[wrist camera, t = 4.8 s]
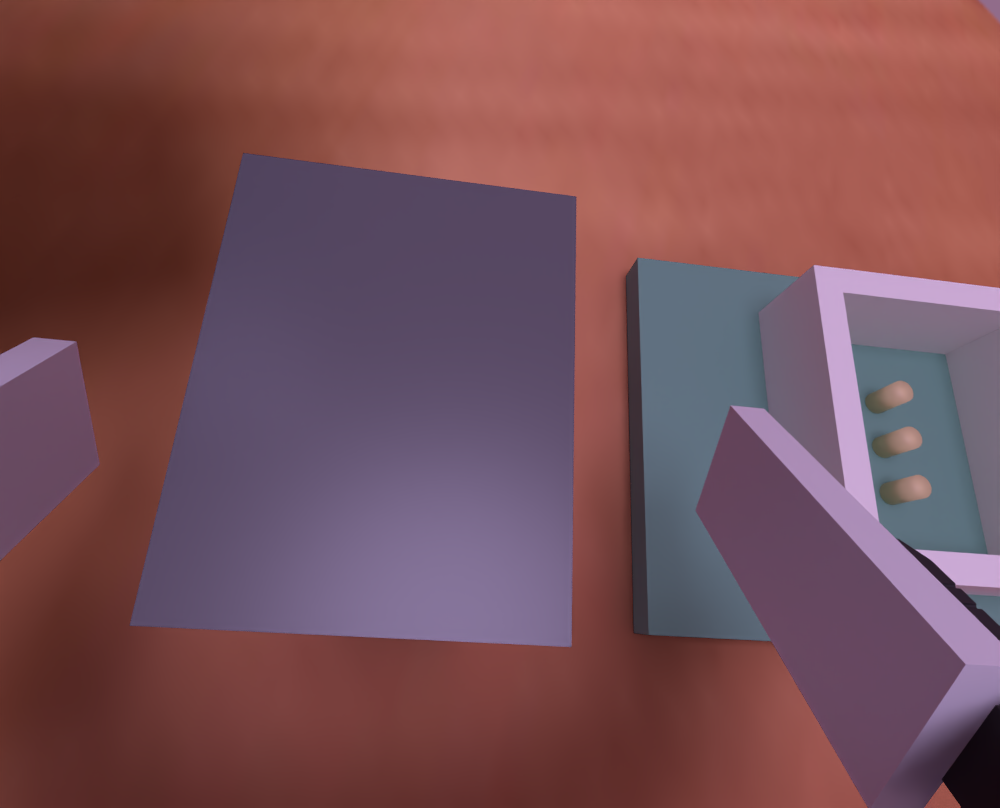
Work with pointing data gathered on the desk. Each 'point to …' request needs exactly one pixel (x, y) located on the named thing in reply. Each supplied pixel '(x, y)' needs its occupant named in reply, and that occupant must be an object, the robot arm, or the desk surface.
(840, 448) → the board
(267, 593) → the block
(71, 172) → the desk surface
